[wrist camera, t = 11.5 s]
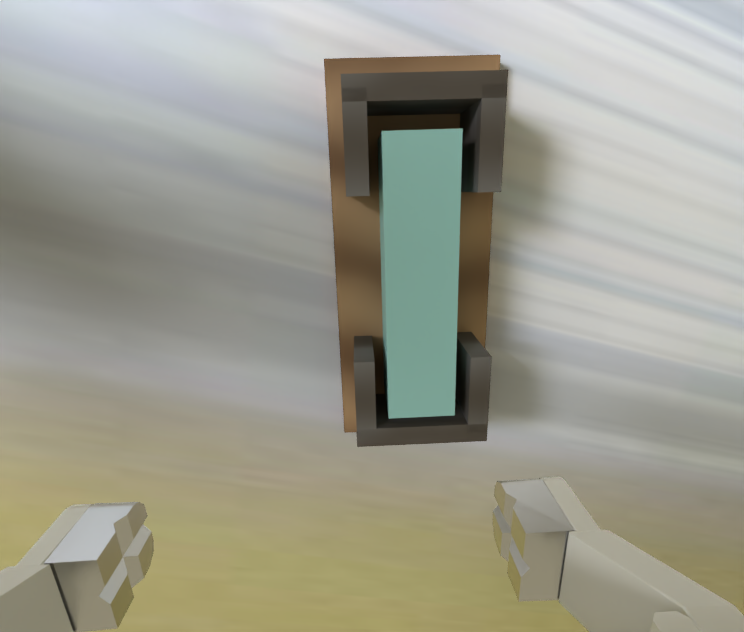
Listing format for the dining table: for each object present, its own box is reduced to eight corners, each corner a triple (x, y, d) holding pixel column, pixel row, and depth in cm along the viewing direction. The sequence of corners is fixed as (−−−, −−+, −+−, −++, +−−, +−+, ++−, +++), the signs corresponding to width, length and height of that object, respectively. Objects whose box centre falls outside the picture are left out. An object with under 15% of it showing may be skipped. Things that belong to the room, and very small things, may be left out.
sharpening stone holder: (325, 63, 25) (316, 30, 19) (494, 59, 25) (531, 25, 20) (344, 425, 32) (342, 472, 26) (477, 419, 32) (500, 464, 27)
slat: (377, 140, 25) (381, 130, 21) (444, 138, 25) (462, 128, 21) (384, 385, 30) (388, 418, 25) (440, 382, 30) (454, 415, 26)
